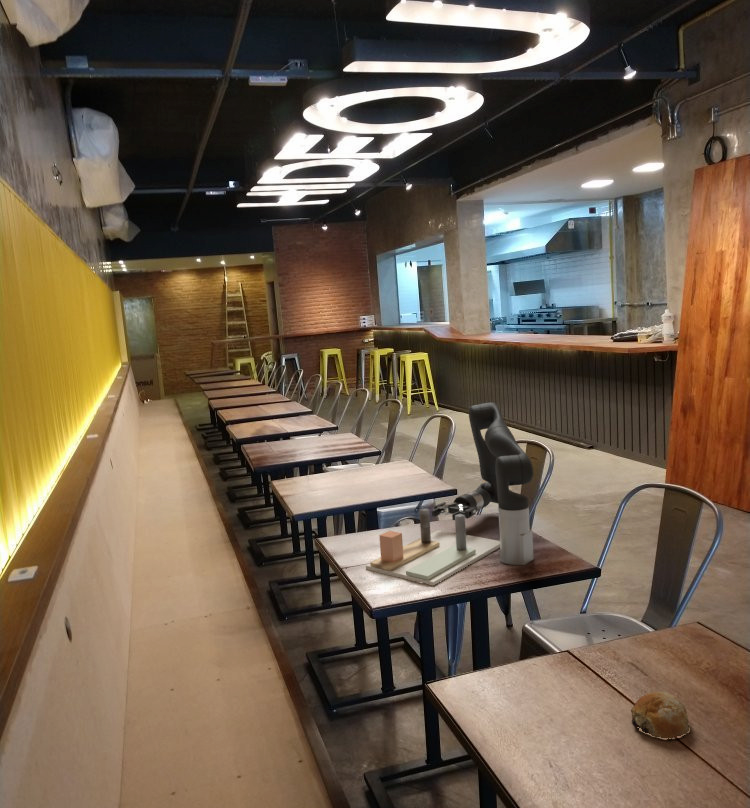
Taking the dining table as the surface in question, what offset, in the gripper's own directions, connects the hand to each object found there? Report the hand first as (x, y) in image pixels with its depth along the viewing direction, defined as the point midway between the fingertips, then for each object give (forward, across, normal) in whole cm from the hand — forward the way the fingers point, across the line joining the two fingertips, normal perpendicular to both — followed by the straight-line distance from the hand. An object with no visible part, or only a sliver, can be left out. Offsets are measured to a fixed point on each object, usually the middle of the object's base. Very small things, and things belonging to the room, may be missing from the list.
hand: (442, 515), depth 242 cm
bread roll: (+66, +95, +9) cm, 116 cm away
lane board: (+14, +7, +9) cm, 18 cm away
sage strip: (+21, +14, +7) cm, 27 cm away
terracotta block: (+28, 0, +6) cm, 29 cm away
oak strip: (+21, 0, +7) cm, 23 cm away
